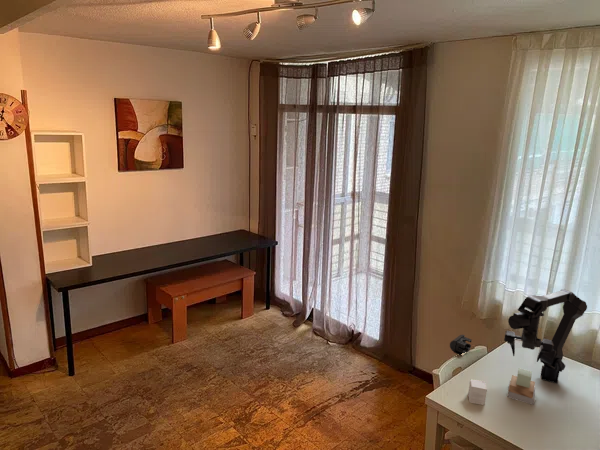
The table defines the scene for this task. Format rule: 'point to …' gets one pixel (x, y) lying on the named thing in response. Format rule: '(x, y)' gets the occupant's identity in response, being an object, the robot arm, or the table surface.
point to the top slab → (521, 388)
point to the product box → (477, 392)
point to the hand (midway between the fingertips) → (525, 358)
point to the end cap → (460, 345)
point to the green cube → (524, 378)
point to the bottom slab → (521, 397)
